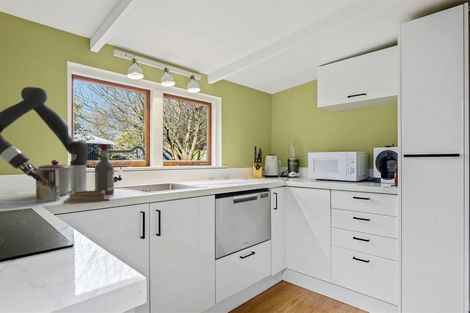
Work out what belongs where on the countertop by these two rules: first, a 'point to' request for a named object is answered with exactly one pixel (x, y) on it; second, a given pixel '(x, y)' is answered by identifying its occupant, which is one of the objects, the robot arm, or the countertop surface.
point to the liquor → (104, 173)
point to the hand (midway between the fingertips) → (42, 179)
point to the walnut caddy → (87, 196)
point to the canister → (60, 175)
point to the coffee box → (47, 186)
